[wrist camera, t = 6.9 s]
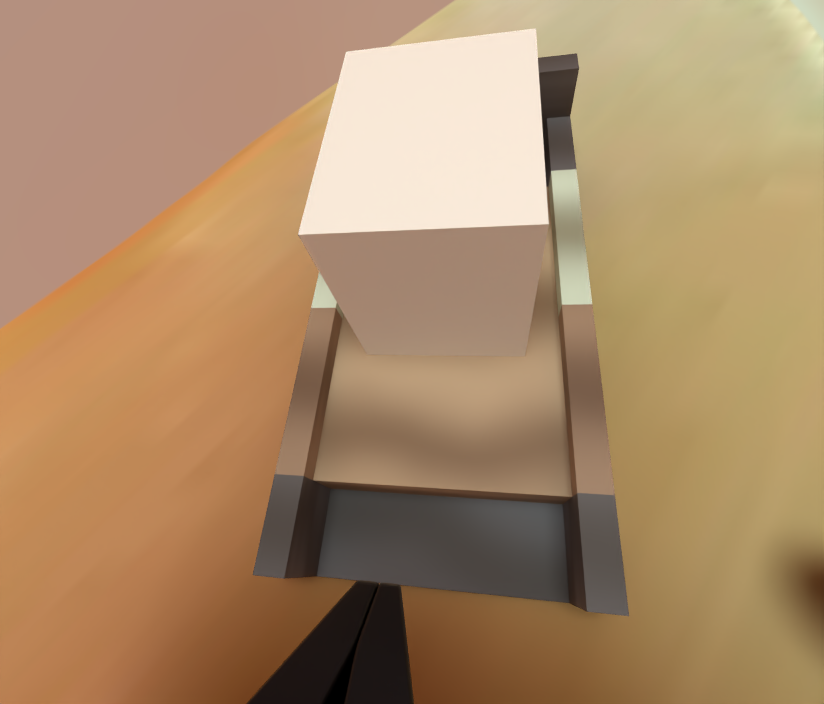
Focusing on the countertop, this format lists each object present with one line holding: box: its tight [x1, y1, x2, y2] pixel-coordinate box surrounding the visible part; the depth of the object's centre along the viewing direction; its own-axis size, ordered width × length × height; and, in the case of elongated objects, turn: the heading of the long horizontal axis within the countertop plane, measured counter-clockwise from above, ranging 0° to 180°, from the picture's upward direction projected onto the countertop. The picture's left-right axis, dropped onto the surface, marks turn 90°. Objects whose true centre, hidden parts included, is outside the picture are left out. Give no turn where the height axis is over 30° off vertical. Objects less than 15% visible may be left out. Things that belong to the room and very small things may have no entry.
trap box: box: [253, 54, 629, 616], centre depth 20 cm, size 24×12×6 cm, turn 176°
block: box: [298, 29, 549, 356], centre depth 17 cm, size 9×7×8 cm
